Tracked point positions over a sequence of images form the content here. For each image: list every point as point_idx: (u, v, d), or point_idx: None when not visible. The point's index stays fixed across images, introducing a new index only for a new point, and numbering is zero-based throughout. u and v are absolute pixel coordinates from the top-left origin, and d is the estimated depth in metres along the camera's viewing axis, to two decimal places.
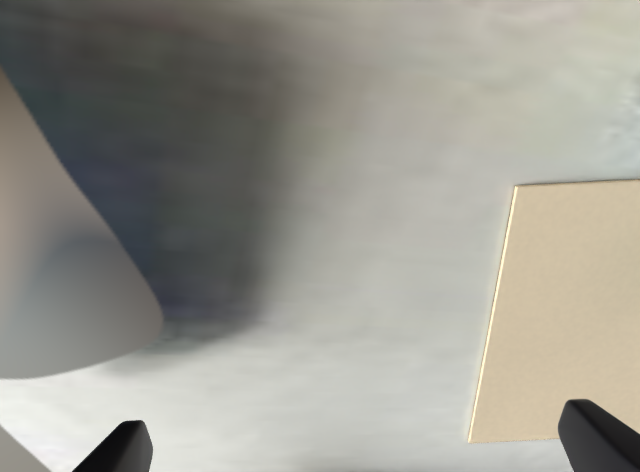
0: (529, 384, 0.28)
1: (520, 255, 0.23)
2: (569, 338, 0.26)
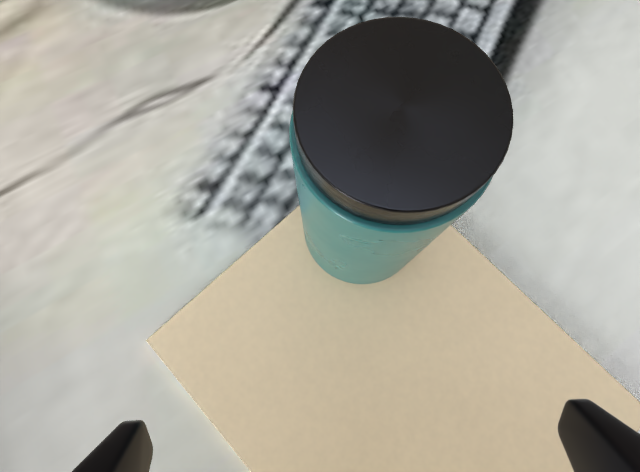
0: None
1: (208, 389, 0.21)
2: (356, 424, 0.21)
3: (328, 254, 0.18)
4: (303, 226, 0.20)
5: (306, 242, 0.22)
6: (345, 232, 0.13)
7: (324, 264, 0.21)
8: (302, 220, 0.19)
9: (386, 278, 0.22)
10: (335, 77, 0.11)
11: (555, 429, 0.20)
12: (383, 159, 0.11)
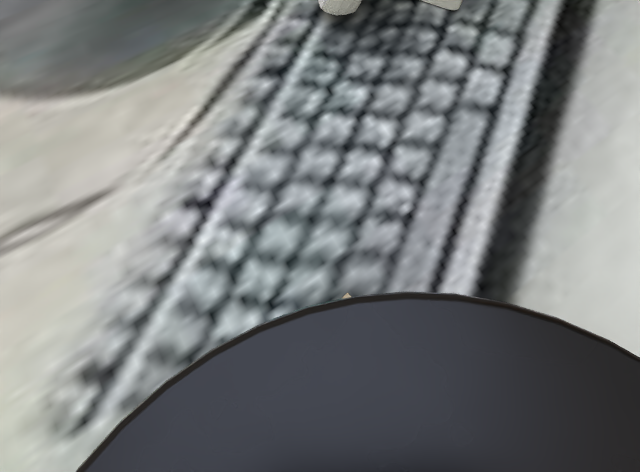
0: None
1: None
2: None
3: None
4: None
5: None
6: None
7: None
8: None
9: None
10: None
11: None
12: None
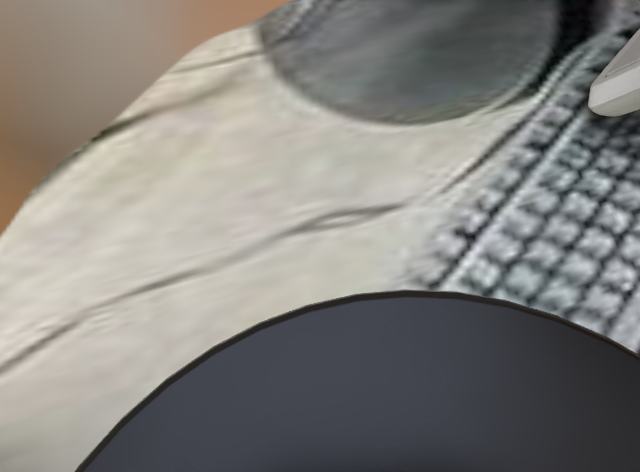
0: None
1: None
2: None
3: None
4: None
5: None
6: None
7: None
8: None
9: None
10: None
11: None
12: None
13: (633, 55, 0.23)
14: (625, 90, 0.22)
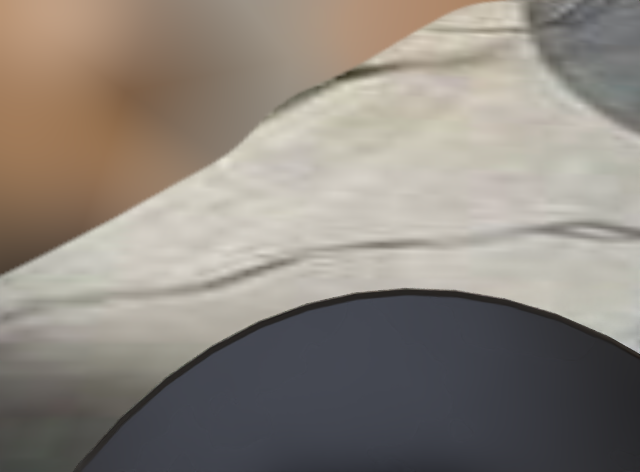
0: None
1: None
2: None
3: None
4: None
5: None
6: None
7: None
8: None
9: None
10: None
11: None
12: None
13: None
14: None
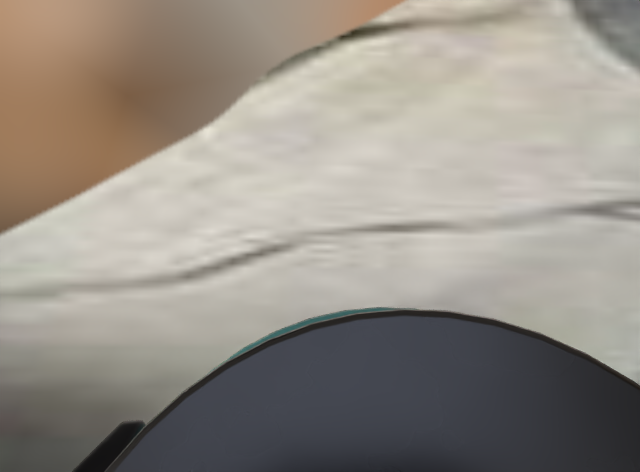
0: None
1: None
2: None
3: None
4: None
5: None
6: None
7: None
8: None
9: None
10: None
11: None
12: None
13: None
14: None
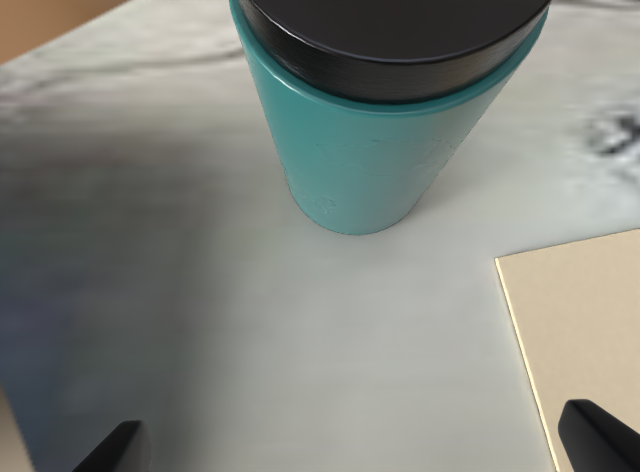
0: None
1: (547, 351, 0.17)
2: None
3: (311, 190, 0.14)
4: None
5: None
6: (321, 135, 0.09)
7: (311, 210, 0.17)
8: (277, 151, 0.15)
9: (389, 225, 0.18)
10: None
11: None
12: None
13: None
14: None
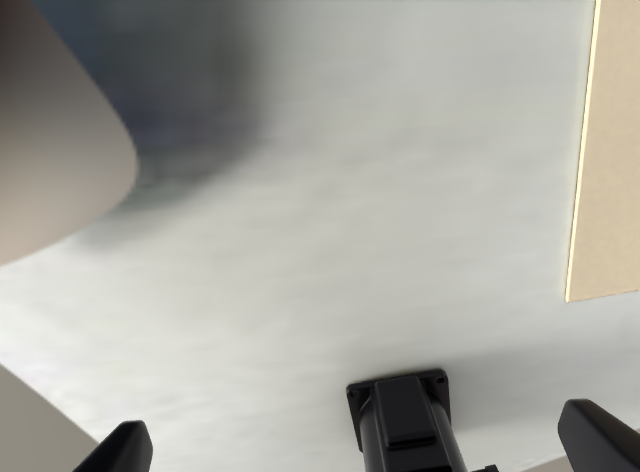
0: None
1: None
2: None
3: None
4: None
5: None
6: None
7: None
8: None
9: None
10: None
11: None
12: None
13: None
14: None
